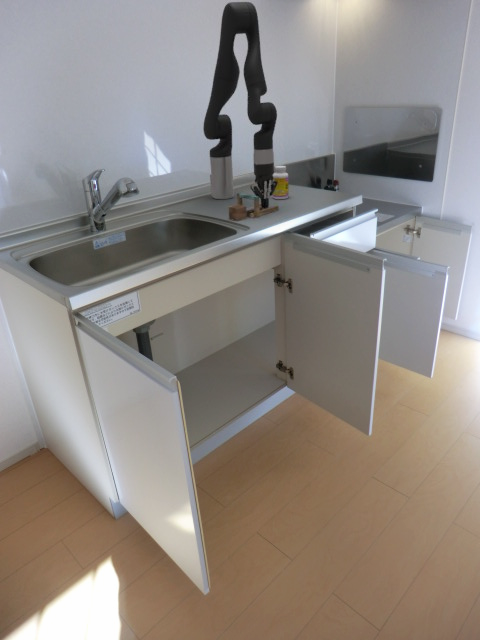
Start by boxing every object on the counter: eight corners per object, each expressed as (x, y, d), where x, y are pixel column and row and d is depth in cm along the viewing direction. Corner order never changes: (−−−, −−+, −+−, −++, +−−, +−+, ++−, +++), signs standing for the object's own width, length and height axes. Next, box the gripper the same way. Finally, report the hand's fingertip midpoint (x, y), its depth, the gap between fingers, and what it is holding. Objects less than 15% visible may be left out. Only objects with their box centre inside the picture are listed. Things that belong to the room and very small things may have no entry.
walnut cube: (229, 219, 178) (228, 206, 176) (238, 216, 181) (237, 204, 179) (237, 221, 175) (237, 208, 173) (246, 218, 178) (246, 206, 176)
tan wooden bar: (240, 217, 181) (239, 209, 179) (256, 212, 186) (256, 205, 185) (245, 218, 179) (244, 211, 178) (262, 213, 184) (261, 206, 183)
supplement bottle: (287, 199, 201) (287, 167, 195) (271, 199, 202) (271, 168, 196) (289, 196, 206) (289, 165, 201) (274, 196, 208) (273, 165, 202)
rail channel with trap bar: (235, 214, 184) (234, 194, 180) (261, 206, 192) (261, 187, 189) (253, 218, 177) (253, 198, 174) (280, 210, 186) (280, 190, 182)
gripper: (269, 158, 185) (270, 203, 193) (243, 163, 178) (245, 210, 185) (283, 159, 180) (283, 206, 188) (258, 165, 173) (259, 213, 180)
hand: (264, 207), depth 187 cm, fingers closed
